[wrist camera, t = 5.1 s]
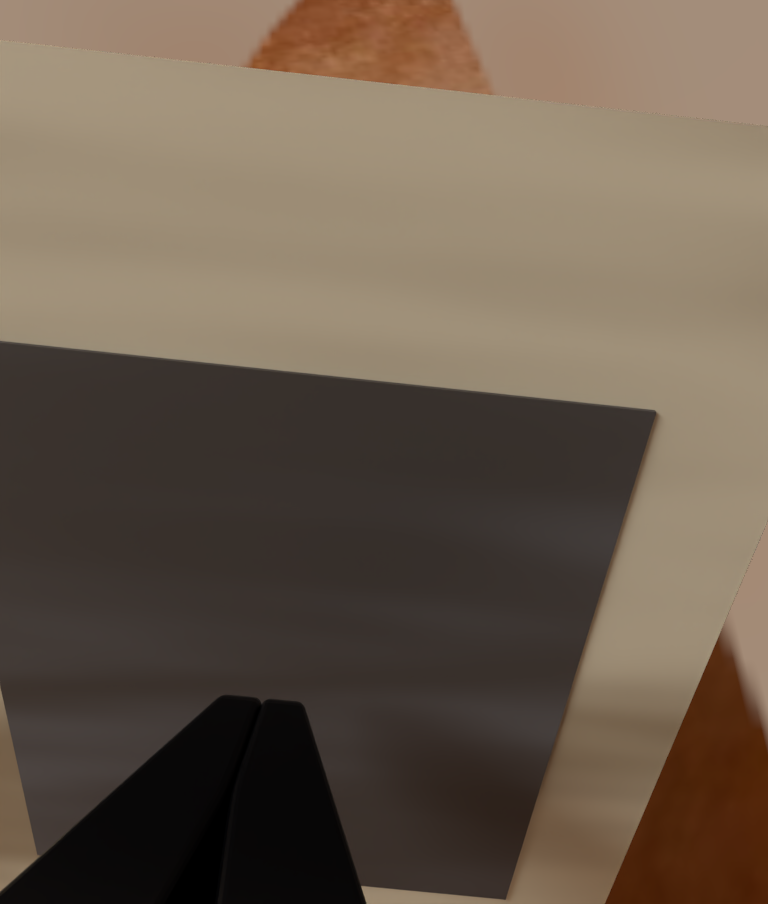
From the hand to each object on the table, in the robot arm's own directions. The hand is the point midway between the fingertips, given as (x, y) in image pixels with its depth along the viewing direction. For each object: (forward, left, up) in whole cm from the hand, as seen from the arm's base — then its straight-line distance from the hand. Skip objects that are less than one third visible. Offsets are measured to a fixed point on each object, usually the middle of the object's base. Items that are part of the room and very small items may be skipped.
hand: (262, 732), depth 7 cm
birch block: (-1, 0, -8) cm, 8 cm away
